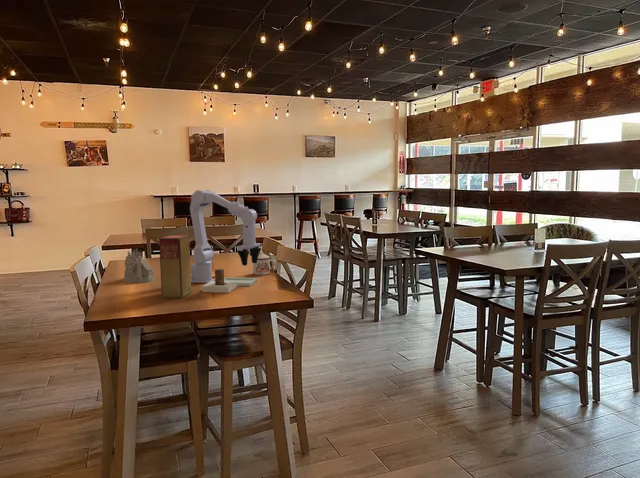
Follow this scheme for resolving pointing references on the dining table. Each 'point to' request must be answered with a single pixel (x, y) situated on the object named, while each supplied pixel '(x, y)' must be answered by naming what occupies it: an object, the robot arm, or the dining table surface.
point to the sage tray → (242, 281)
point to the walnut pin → (219, 276)
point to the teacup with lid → (262, 265)
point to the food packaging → (175, 266)
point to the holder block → (219, 287)
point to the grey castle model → (137, 270)
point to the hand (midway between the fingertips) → (249, 264)
